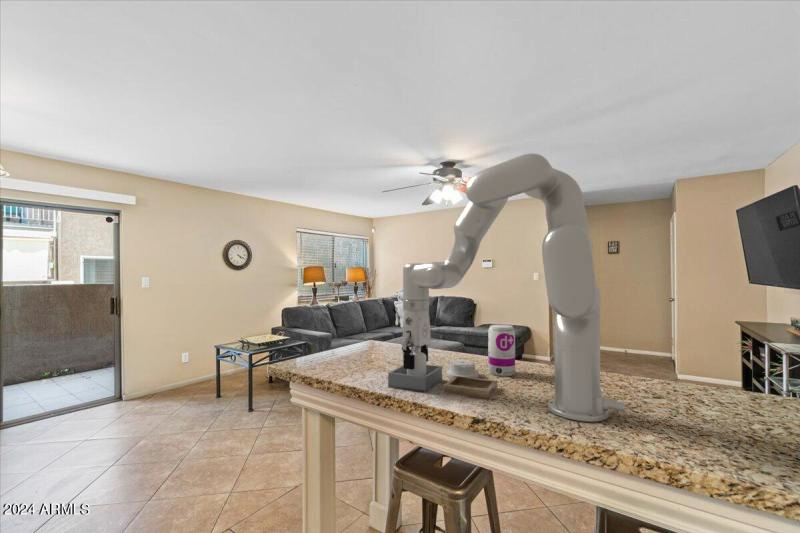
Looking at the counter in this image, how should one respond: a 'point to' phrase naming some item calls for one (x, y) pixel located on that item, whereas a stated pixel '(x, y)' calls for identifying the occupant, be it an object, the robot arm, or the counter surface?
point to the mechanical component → (462, 369)
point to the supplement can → (501, 350)
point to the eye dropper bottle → (418, 363)
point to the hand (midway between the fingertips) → (416, 364)
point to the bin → (415, 379)
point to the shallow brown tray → (472, 392)
